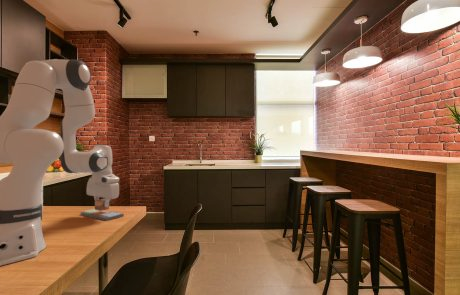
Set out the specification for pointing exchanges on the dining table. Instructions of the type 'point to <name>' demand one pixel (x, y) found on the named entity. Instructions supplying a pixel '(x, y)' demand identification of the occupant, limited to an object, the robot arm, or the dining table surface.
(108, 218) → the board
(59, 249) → the dining table surface
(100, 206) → the terracotta cube
